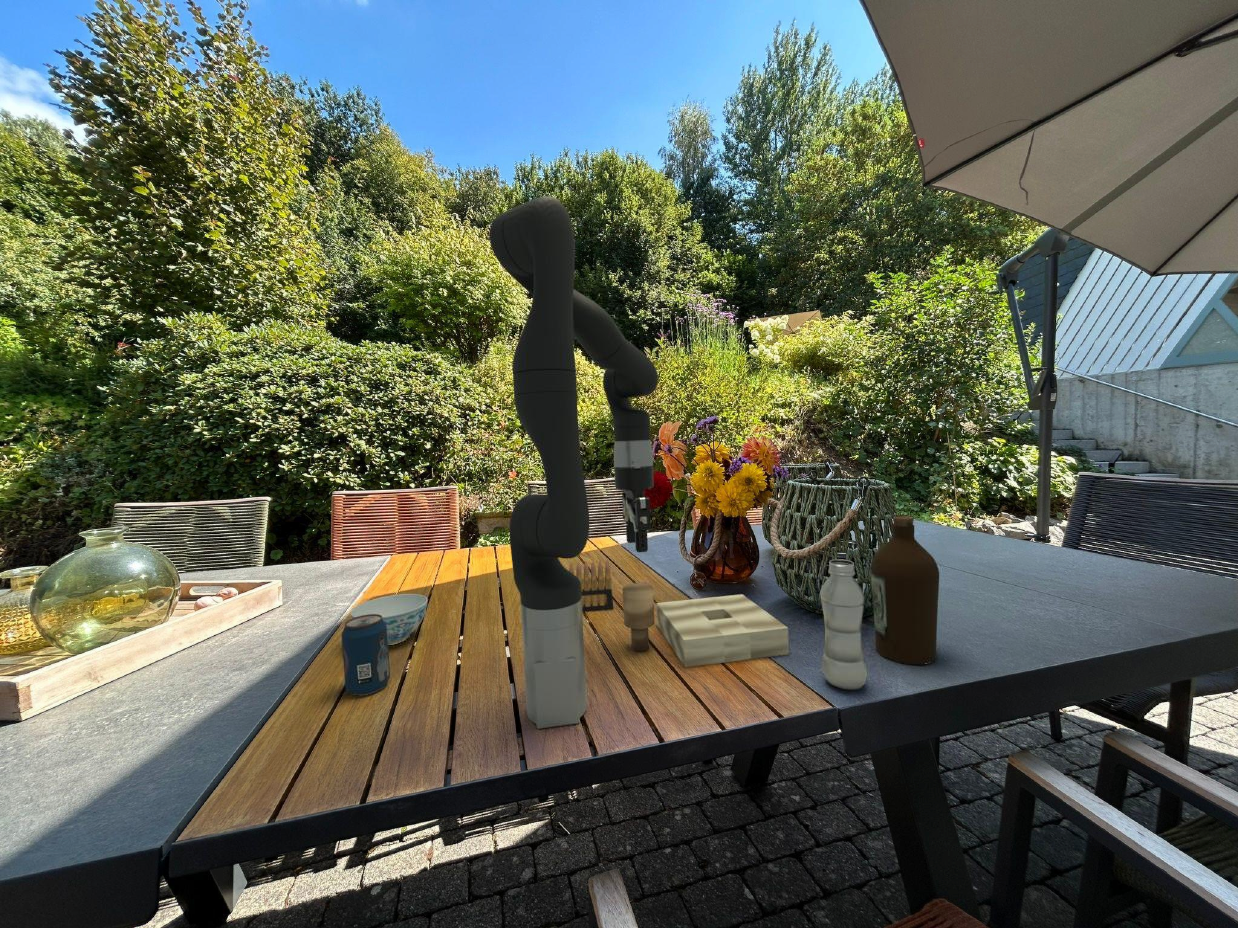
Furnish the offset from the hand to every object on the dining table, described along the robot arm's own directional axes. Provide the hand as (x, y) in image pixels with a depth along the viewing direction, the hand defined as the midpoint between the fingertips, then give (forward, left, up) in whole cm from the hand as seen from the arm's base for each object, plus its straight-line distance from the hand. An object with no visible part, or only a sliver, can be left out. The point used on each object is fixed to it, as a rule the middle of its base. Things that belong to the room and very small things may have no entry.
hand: (636, 546), depth 93 cm
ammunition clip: (+24, +7, -20) cm, 32 cm away
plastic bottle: (-22, -29, -20) cm, 42 cm away
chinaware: (+18, +51, -20) cm, 58 cm away
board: (0, -16, -20) cm, 25 cm away
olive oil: (-15, -46, -20) cm, 52 cm away
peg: (0, 0, -20) cm, 20 cm away
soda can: (-3, +49, -20) cm, 53 cm away
